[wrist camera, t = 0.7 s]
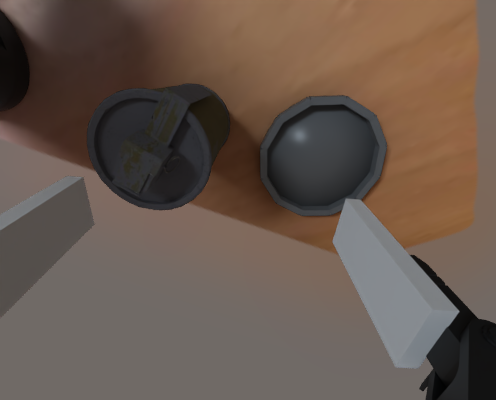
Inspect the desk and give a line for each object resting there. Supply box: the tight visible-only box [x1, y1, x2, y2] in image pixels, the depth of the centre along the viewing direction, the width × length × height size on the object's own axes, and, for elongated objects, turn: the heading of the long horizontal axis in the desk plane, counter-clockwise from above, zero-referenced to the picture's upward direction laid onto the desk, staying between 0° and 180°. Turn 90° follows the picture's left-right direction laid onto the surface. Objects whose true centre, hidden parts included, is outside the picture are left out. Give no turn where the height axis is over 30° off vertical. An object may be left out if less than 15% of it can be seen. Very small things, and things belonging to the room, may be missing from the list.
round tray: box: [260, 95, 387, 216], centre depth 37 cm, size 18×18×2 cm
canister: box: [87, 84, 230, 210], centre depth 27 cm, size 11×10×20 cm
